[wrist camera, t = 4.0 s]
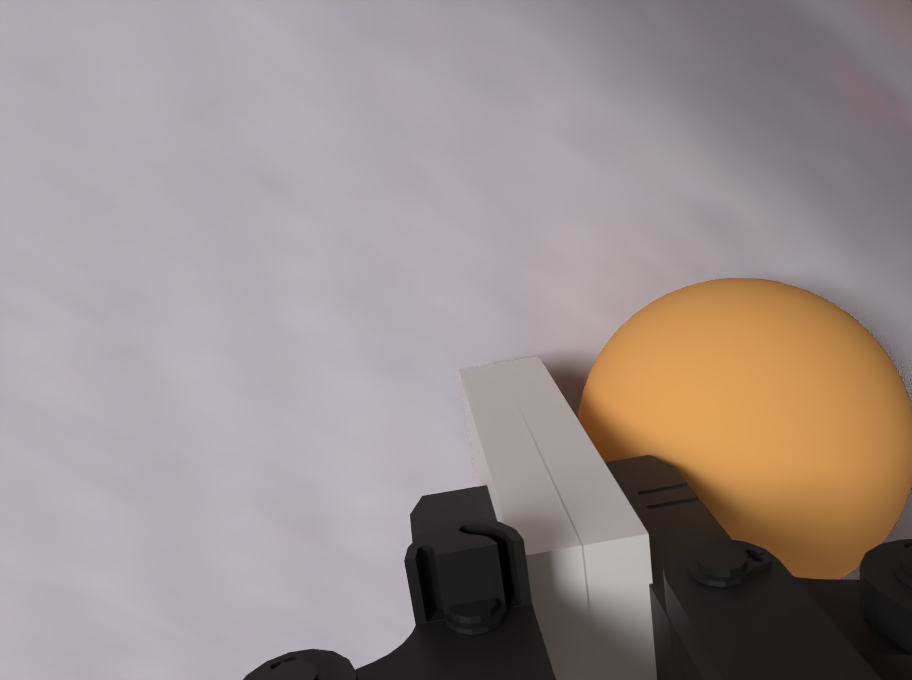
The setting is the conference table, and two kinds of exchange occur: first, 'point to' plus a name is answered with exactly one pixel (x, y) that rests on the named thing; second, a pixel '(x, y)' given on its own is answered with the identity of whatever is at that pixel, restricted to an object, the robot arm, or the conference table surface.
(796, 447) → the ball
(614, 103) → the conference table surface
